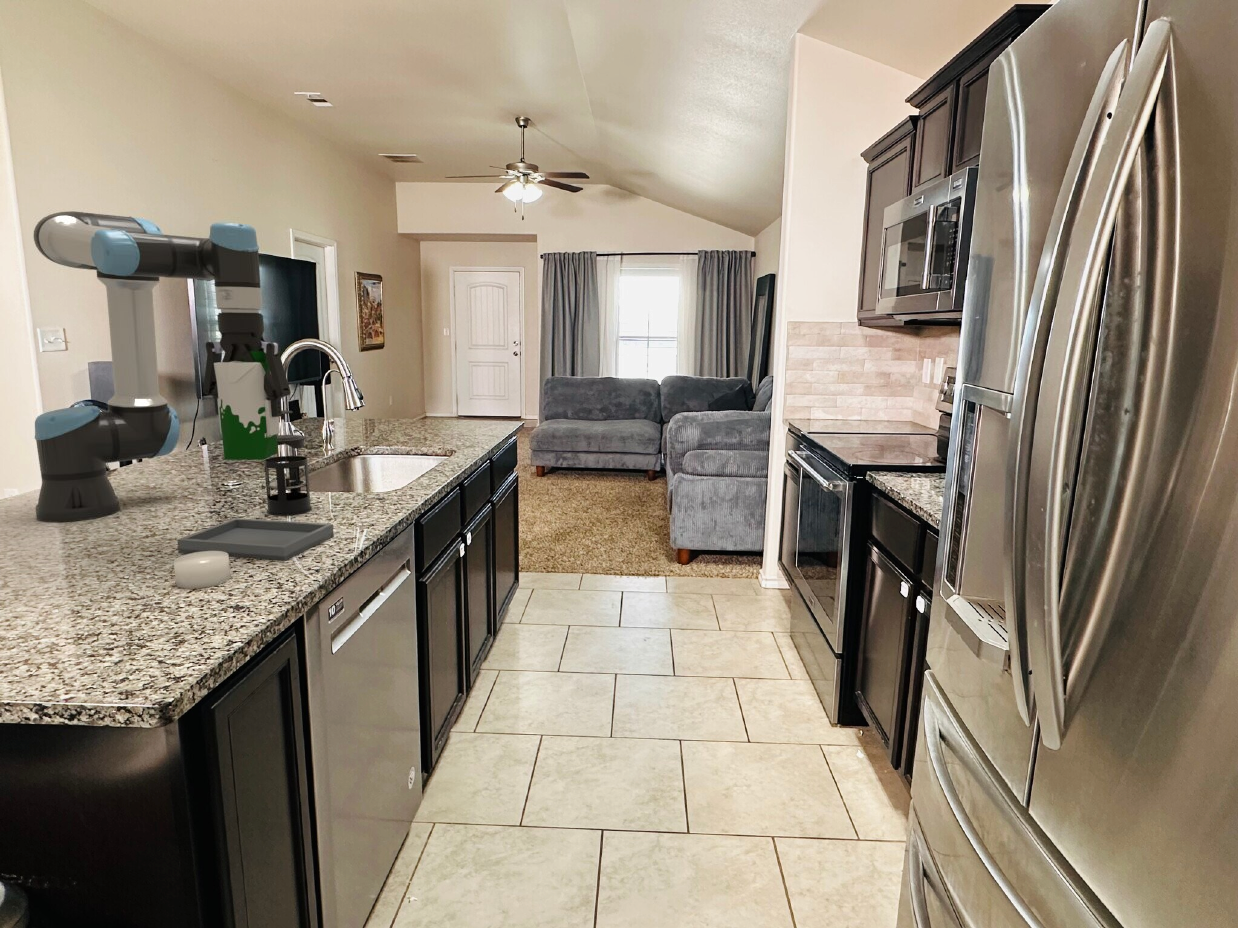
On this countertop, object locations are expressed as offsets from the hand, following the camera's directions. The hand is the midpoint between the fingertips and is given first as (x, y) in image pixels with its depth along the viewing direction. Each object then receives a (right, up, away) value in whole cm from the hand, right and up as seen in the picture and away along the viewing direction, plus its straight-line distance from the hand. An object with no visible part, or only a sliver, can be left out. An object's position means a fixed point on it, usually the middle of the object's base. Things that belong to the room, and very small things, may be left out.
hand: (250, 433), depth 140 cm
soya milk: (0, -5, +1) cm, 5 cm away
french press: (-6, -17, +30) cm, 35 cm away
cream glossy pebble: (0, -25, -16) cm, 30 cm away
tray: (0, -21, +4) cm, 22 cm away
